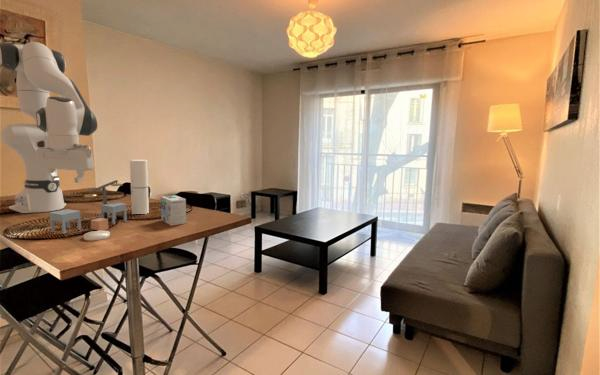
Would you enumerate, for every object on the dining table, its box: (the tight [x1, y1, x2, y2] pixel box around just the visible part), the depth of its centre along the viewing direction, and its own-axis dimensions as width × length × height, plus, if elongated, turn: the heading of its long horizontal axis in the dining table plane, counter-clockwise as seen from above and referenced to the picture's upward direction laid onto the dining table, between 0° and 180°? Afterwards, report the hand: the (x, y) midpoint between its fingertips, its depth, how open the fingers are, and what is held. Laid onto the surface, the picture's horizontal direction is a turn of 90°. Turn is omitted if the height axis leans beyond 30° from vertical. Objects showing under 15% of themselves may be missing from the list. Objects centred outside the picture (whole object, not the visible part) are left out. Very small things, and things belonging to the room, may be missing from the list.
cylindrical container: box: [129, 159, 150, 215], centre depth 145 cm, size 7×7×25 cm
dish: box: [82, 230, 111, 242], centre depth 112 cm, size 8×8×1 cm
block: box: [90, 218, 109, 231], centre depth 120 cm, size 4×4×4 cm
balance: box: [83, 179, 123, 221], centre depth 134 cm, size 6×17×16 cm, turn 162°
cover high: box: [100, 201, 128, 225], centre depth 130 cm, size 6×6×8 cm
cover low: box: [49, 208, 82, 234], centre depth 116 cm, size 6×6×8 cm
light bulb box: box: [160, 194, 187, 226], centre depth 134 cm, size 11×7×11 cm, turn 45°
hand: (66, 181), depth 114 cm, fingers open, 8 cm apart
